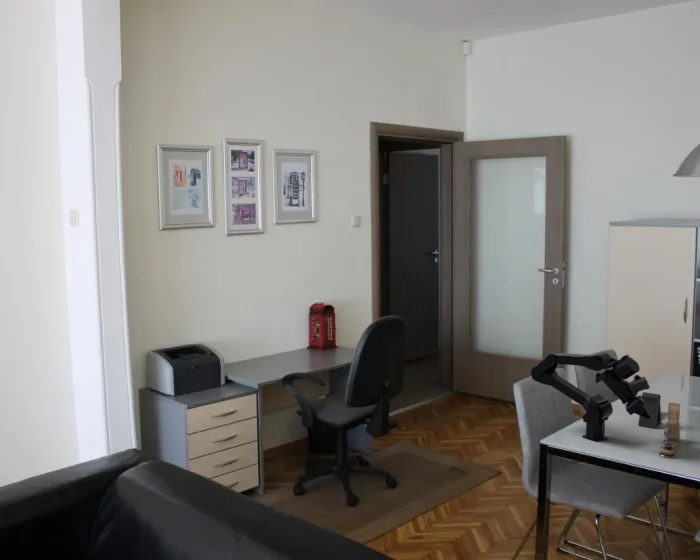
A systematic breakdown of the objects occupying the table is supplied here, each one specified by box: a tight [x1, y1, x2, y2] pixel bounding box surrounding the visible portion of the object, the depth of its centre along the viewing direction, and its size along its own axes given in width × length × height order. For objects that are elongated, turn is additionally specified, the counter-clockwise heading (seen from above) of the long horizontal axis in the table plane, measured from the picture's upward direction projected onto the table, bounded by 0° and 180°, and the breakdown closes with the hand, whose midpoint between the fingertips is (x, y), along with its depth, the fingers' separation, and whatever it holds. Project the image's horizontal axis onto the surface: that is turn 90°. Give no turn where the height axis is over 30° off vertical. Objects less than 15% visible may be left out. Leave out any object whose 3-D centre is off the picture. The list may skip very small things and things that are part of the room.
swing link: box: [659, 402, 681, 456], centre depth 245 cm, size 18×5×14 cm, turn 148°
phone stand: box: [637, 391, 662, 430], centre depth 273 cm, size 9×6×12 cm, turn 141°
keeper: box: [663, 420, 681, 441], centre depth 254 cm, size 7×4×6 cm, turn 150°
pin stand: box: [658, 439, 678, 459], centre depth 240 cm, size 6×6×5 cm
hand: (649, 417), depth 250 cm, fingers closed
